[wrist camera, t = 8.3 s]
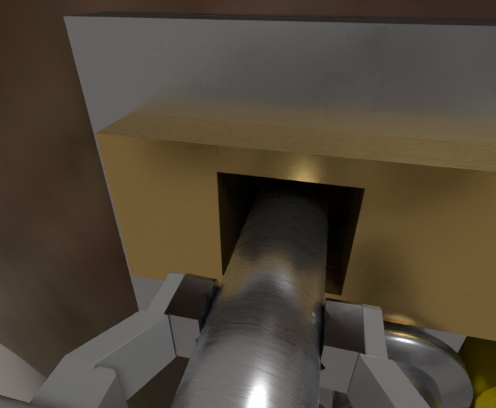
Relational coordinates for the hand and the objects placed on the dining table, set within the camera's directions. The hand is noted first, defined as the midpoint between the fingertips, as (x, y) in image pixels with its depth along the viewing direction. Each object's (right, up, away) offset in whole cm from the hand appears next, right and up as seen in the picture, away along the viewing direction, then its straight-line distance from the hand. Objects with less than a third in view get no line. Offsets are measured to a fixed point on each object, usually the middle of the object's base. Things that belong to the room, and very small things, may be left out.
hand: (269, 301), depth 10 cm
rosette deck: (+2, +3, +7) cm, 8 cm away
